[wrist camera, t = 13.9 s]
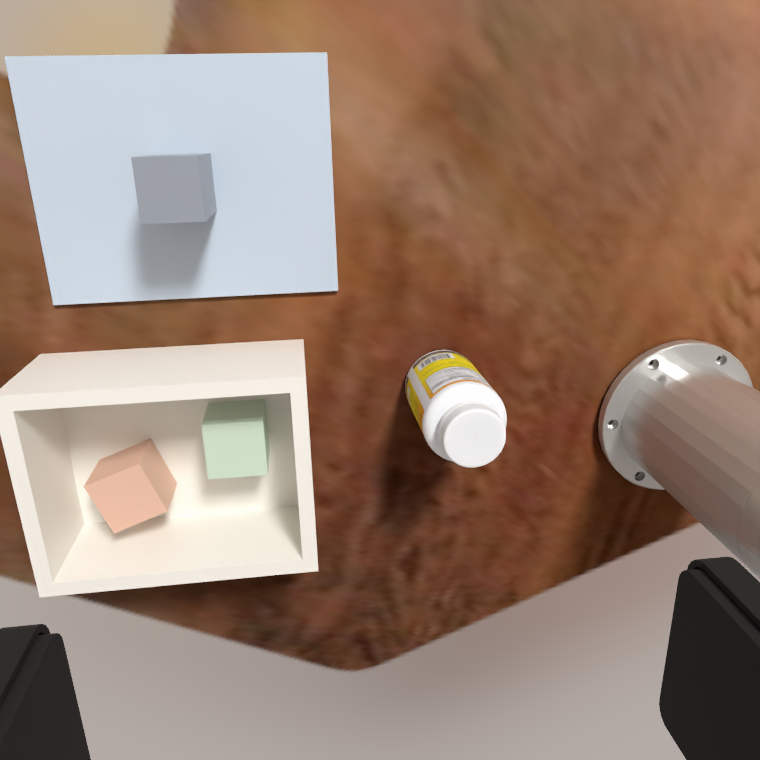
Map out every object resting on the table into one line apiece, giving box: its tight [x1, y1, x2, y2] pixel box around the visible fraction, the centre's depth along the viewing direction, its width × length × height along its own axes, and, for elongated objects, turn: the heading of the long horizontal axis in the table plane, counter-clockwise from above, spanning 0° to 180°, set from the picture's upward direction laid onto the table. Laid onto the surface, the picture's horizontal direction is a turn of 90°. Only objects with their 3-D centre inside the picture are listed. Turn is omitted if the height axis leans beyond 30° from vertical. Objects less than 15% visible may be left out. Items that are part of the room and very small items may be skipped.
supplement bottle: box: [405, 350, 507, 468], centre depth 45 cm, size 6×6×10 cm
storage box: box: [0, 339, 318, 597], centre depth 45 cm, size 18×14×8 cm
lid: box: [5, 52, 338, 305], centre depth 41 cm, size 19×15×7 cm
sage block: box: [201, 399, 270, 479], centre depth 46 cm, size 4×4×4 cm
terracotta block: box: [84, 438, 177, 533], centre depth 47 cm, size 4×4×4 cm
